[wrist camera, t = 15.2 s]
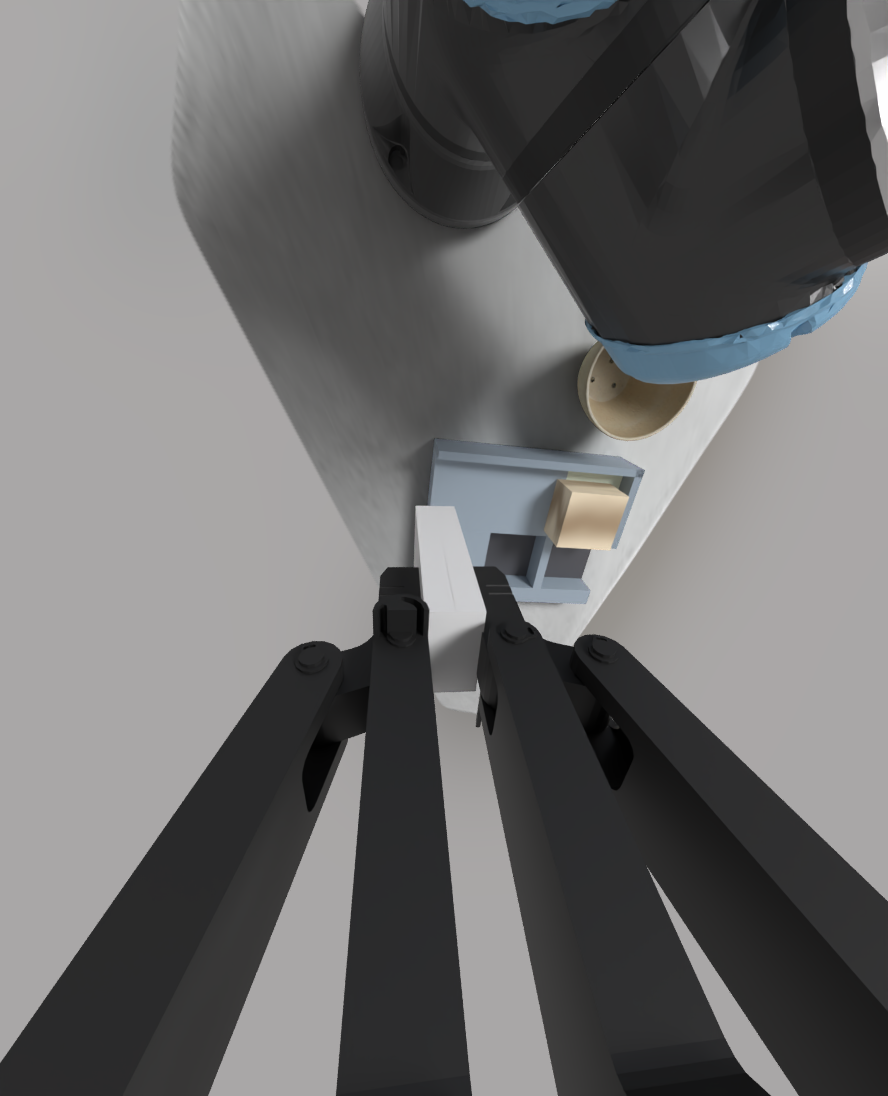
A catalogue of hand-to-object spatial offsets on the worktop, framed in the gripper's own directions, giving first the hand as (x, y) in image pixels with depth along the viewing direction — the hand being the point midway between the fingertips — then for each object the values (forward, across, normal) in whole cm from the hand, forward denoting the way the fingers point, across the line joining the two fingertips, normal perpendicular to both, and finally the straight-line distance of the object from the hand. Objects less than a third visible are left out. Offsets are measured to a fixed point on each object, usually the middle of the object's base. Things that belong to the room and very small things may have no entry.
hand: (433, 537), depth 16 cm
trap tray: (+28, +12, -12) cm, 33 cm away
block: (+25, +18, -9) cm, 32 cm away
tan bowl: (+28, +19, +4) cm, 34 cm away
